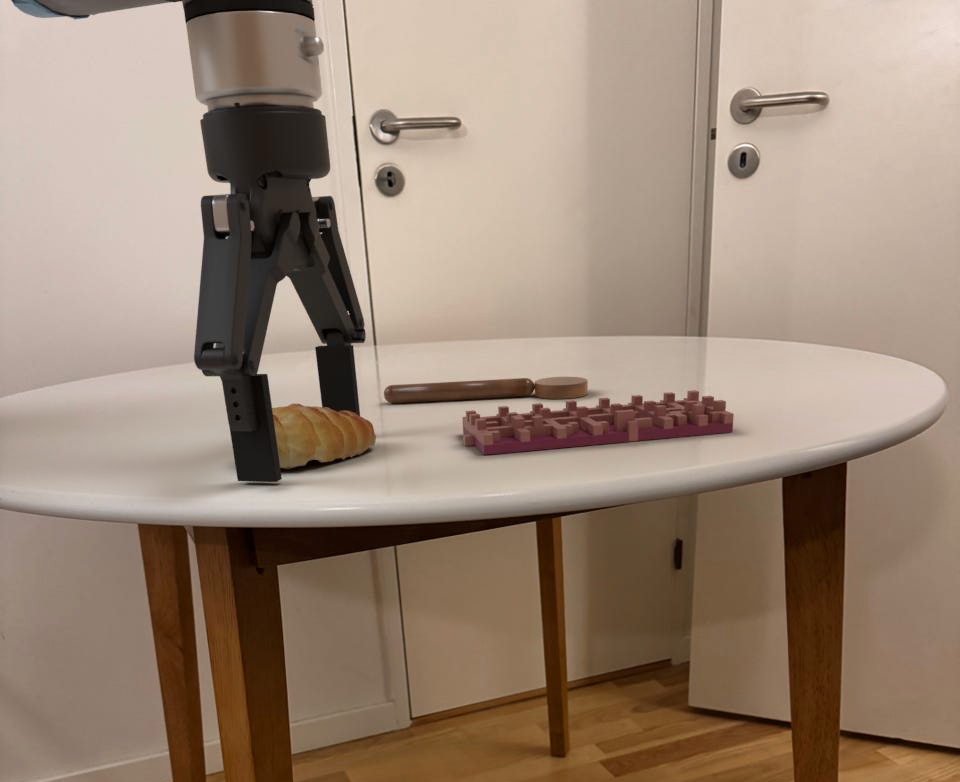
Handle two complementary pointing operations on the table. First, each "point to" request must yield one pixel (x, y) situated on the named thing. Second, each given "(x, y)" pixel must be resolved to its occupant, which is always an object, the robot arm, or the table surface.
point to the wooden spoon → (488, 389)
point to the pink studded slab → (596, 423)
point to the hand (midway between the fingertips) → (305, 456)
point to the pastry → (319, 434)
